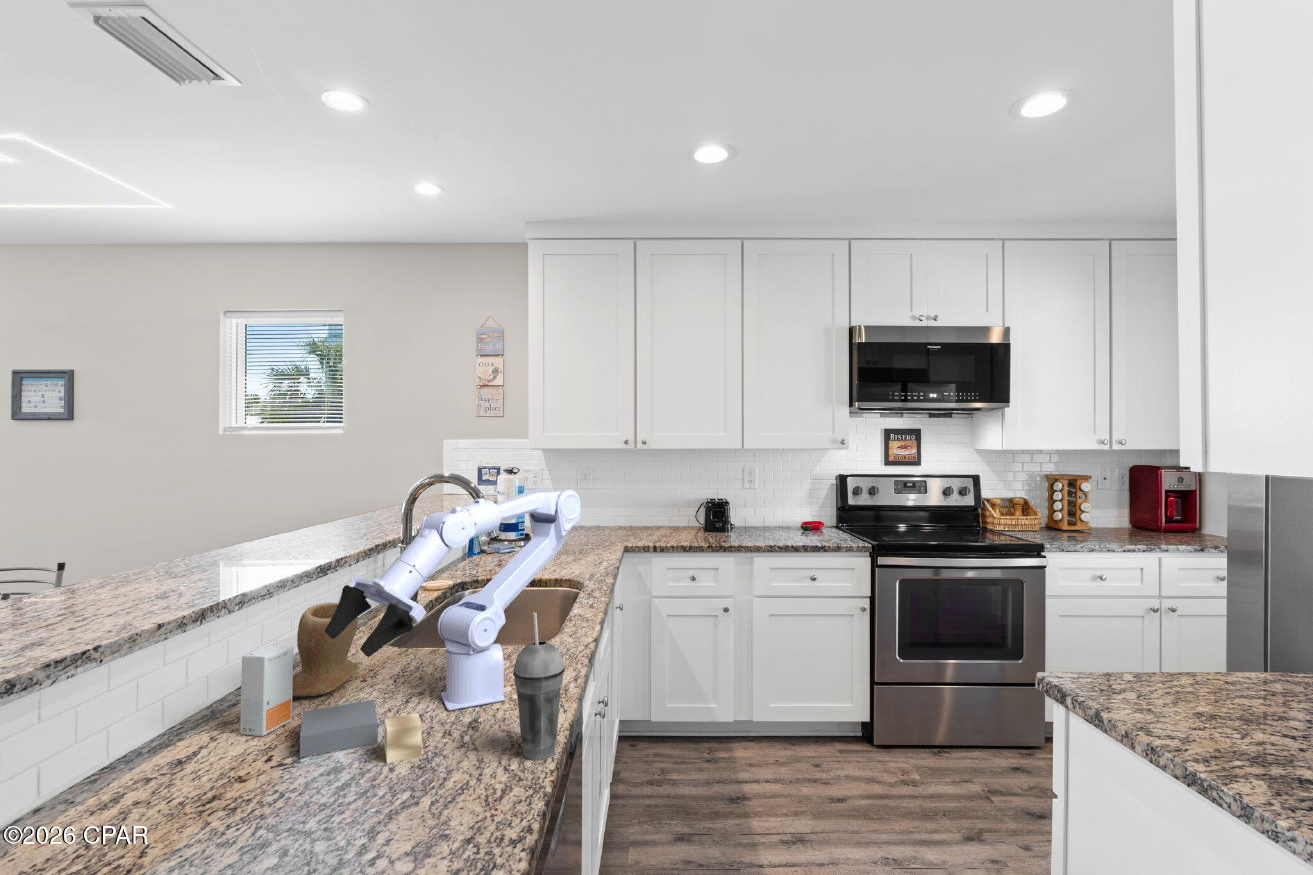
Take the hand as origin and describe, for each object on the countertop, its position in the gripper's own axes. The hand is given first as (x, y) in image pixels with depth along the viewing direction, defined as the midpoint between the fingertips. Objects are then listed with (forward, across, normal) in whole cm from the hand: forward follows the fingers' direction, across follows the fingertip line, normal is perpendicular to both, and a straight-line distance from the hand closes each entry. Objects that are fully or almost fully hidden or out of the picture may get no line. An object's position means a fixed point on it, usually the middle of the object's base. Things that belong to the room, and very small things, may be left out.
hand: (346, 644), depth 93 cm
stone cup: (+2, -20, +25) cm, 32 cm away
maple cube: (+7, +13, +10) cm, 18 cm away
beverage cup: (-1, +30, +12) cm, 33 cm away
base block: (+9, 0, +12) cm, 15 cm away
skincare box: (+13, -12, +13) cm, 22 cm away
